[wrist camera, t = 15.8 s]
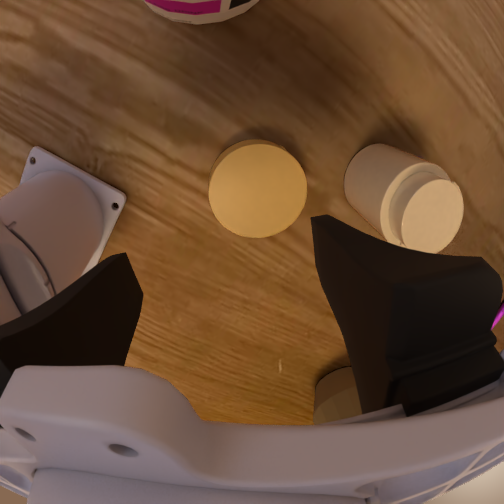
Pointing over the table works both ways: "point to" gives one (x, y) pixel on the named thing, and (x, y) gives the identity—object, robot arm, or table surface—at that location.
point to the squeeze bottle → (336, 397)
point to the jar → (404, 198)
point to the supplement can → (199, 9)
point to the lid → (256, 188)
